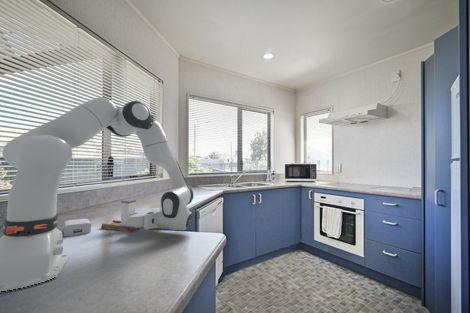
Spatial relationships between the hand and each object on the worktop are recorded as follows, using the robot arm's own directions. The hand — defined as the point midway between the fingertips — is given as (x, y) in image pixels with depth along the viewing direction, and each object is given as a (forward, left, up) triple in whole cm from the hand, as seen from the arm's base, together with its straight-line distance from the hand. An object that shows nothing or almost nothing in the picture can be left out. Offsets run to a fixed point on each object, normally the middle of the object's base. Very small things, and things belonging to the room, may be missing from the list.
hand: (131, 215), depth 105 cm
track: (+3, +3, -6) cm, 8 cm away
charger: (+10, +21, -7) cm, 24 cm away
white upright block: (+1, +1, -5) cm, 5 cm away
